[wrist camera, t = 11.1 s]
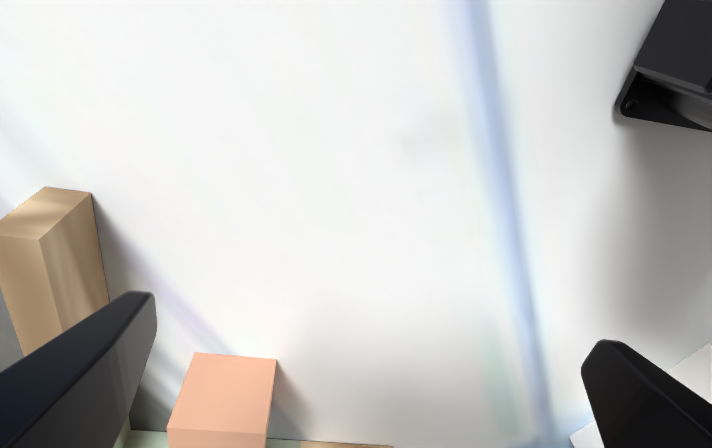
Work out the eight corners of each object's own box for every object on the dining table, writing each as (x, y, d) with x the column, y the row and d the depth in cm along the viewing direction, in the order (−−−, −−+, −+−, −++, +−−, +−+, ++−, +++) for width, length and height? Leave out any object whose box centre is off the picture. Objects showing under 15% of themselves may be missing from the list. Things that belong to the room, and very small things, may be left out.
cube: (276, 358, 26) (265, 434, 22) (271, 407, 29) (259, 483, 24) (194, 351, 25) (166, 427, 21) (196, 401, 28) (171, 478, 24)
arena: (472, 242, 22) (497, 293, 18) (387, 460, 33) (393, 518, 29) (44, 186, 19) (-18, 233, 16) (104, 444, 30) (75, 505, 27)
